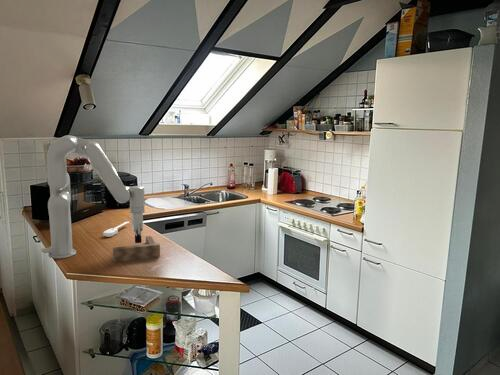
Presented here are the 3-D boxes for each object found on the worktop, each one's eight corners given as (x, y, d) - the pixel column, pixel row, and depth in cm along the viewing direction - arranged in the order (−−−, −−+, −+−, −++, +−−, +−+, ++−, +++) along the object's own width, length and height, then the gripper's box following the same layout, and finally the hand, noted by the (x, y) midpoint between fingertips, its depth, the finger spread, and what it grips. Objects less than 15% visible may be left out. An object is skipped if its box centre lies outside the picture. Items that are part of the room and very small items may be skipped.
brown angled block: (113, 262, 185) (113, 249, 184) (109, 246, 209) (109, 234, 208) (159, 257, 194) (159, 244, 193) (151, 241, 218) (151, 230, 216)
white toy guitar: (124, 225, 250) (124, 221, 250) (132, 226, 249) (132, 221, 249) (100, 237, 223) (100, 232, 223) (110, 238, 222) (109, 233, 222)
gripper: (128, 206, 210) (129, 239, 213) (131, 213, 196) (132, 247, 200) (142, 206, 213) (143, 237, 216) (146, 212, 199) (147, 246, 203)
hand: (138, 242), depth 208 cm, fingers closed
